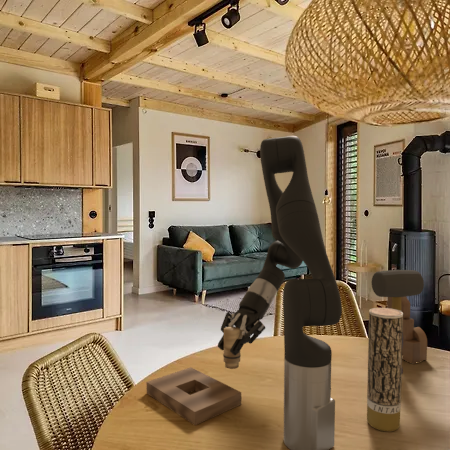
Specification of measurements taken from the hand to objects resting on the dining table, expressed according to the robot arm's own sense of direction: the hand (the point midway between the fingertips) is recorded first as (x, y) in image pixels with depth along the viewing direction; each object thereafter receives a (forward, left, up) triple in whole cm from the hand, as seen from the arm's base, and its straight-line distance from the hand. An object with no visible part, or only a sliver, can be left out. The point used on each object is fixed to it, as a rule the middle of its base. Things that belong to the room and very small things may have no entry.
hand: (226, 350), depth 108 cm
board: (0, +11, -9) cm, 15 cm away
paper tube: (-37, -13, -10) cm, 40 cm away
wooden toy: (-20, -57, -10) cm, 61 cm away
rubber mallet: (-27, -39, -10) cm, 48 cm away
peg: (0, -2, -5) cm, 5 cm away
